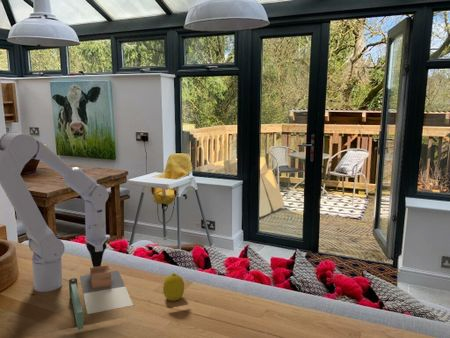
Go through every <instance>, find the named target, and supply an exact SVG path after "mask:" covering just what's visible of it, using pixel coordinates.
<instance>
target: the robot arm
mask: <svg viewBox="0 0 450 338" xmlns="http://www.w3.org/2000/svg"><path fill="white" fill-rule="evenodd" d="M32 159H33V160H38V161H41V162H42V163H43V164H45V165H46V166H48V167H49V168H50V169H52V170H54V171H55V172H56V173H58V174H59V175H60V176H62V182H63V183H64V184H65V185H66V186H67V187H69V188H70V189H71V190H73V191H74V192H76V193H77V194H78V195H80V198H81V199H82V200H84V217H85V219H84V221H85V222H84V223H85V238H84V241H85V242H86V243H85V246H86V250H88V252H89V255H90V259H91V260H90V261H91V265H92V268H93V267H100V266H102V261H103V256H104V254H105V253H104V252H105V251H106V249H107V243H106V241H107V240H109V239H111V235H110V234H107V231H106V230H107V225H106V224H107V222H106V220H107V219H106V202H107V201H108V199H109V195H110V192H109V193H108V191H107V188H106V187H105V186H104V185H101V184H99V183H97V182H98V180H97V179H96V178H95V177H94V178H92V177H91V176H89V175H88V174H87V173H86V169H85V168H83V167H79V166H74V167H71V166H70V165H69V164H68V163H66V162H65V161H64V160H63V159H62V158H61V157H59V156H58V155H57V154H56V153H55V152H54V151H52V150H51V149H50V148H49V146H47V145H46V144H44V143H43V142H42V141H40V140H38V139H36V138H35V137H34V136H32V135H30V134H29V133H28V134H27V133H19V132H17V131H8V132H6V133H3V135H1V136H0V186H1V188H2V189H3V191H4V193H5V196H7V197H6V198H8V200H9V202H10V204H11V206H12V207H13V209H14V211H15V213H16V214H17V217H18V218H19V220H20V221H21V223H22V225H23V228H25V231H26V232H25V235H26V236H27V239H28V248H29V250H30V251H31V252H32V253H33V254H32V259H31V260H32V278H33V289H34V291H36V292H38V293H39V292H40V293H42V292H43V293H47V292H52V291H55V290H58V289H59V288H61V286H62V285H63V271H62V270H63V268H62V267H63V266H62V265H63V264H62V256H63V255H64V253H65V244H64V242H63V241H62V240H61V239H59V238H58V237H56V235H55V233H54V232H53V230H52V229H51V228H50V227H49V226H48V224H47V222H46V220H45V218H44V217H43V215H42V213H41V211H40V210H39V208H38V206H37V203H36V201H35V200H34V198H33V196H32V194H31V192H30V191H29V190H30V189H28V187H27V185H26V183H25V181H24V179H23V177H22V175H21V173H22V171H23V169H24V168H25V166H26V164H27V163H29V161H30V160H32Z"/></svg>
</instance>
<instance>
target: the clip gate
mask: <svg viewBox="0 0 450 338" xmlns="http://www.w3.org/2000/svg"><path fill="white" fill-rule="evenodd" d="M77 287H78V284H77V285H76V284H71V294H72V300H71V302H72V307H73V312H74V313H73V314H74V317H75V322H76V329H77V330H82V329H84V311H83V307H82V301H81V299H80V298H81V297H80V295H79V290H78V289H77Z"/></svg>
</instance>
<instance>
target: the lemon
mask: <svg viewBox="0 0 450 338" xmlns="http://www.w3.org/2000/svg"><path fill="white" fill-rule="evenodd" d="M162 290H163V291H162V292H163V296H164V297H165V298H166V299H167V300H168V301H171V302H176V301H179V300H180V299H181V298H182V297H183V295H184V293H185V282H184V280H183V277H182V276H181V275H179V274H177V273H175V272H173V273H171V274H169V275H168V276H166V277H165V278H164V281H163V284H162Z"/></svg>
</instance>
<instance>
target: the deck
mask: <svg viewBox="0 0 450 338" xmlns="http://www.w3.org/2000/svg"><path fill="white" fill-rule="evenodd" d="M110 271H111V286H106V287H100V288H94V289H92V285H91V278H90V274H86V275H85V274H84V275H80V276H79V277H80V283H81V288H82V292H83V293H82V294H83V300H84V302H85V309H86V314H87V315H89V314H90V315H91V314H95V313H101V312H107V311H111V310H117V309H123V308H126V307H131V306H134V303H133V301H132V299H131V296H130V295H129V292H128V290H127V287H126V284H125V283H124V280H123V278H122V276H121V273H120V271H119V270H113V271H112V270H110Z"/></svg>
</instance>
